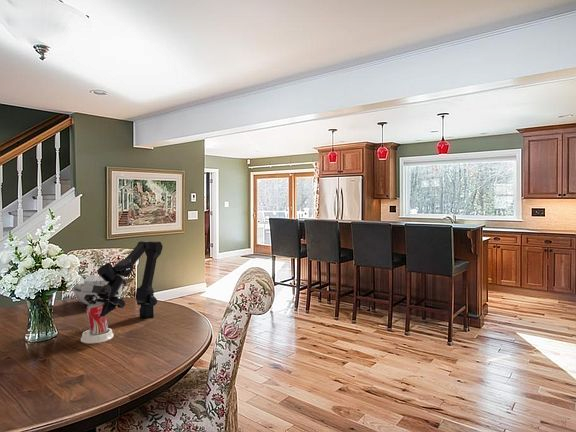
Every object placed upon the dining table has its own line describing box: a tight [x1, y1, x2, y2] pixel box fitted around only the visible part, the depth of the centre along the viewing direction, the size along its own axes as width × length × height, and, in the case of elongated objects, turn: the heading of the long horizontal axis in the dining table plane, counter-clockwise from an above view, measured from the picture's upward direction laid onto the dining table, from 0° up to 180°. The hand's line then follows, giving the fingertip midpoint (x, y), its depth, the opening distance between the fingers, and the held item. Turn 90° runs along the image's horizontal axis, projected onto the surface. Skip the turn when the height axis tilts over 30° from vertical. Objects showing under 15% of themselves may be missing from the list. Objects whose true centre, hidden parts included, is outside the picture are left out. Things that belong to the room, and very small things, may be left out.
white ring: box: [80, 327, 114, 345], centre depth 176 cm, size 13×13×3 cm
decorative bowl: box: [71, 274, 125, 306], centre depth 234 cm, size 30×30×15 cm
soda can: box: [86, 302, 109, 336], centre depth 177 cm, size 7×7×13 cm
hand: (94, 318), depth 175 cm, fingers closed on soda can, 4 cm apart
